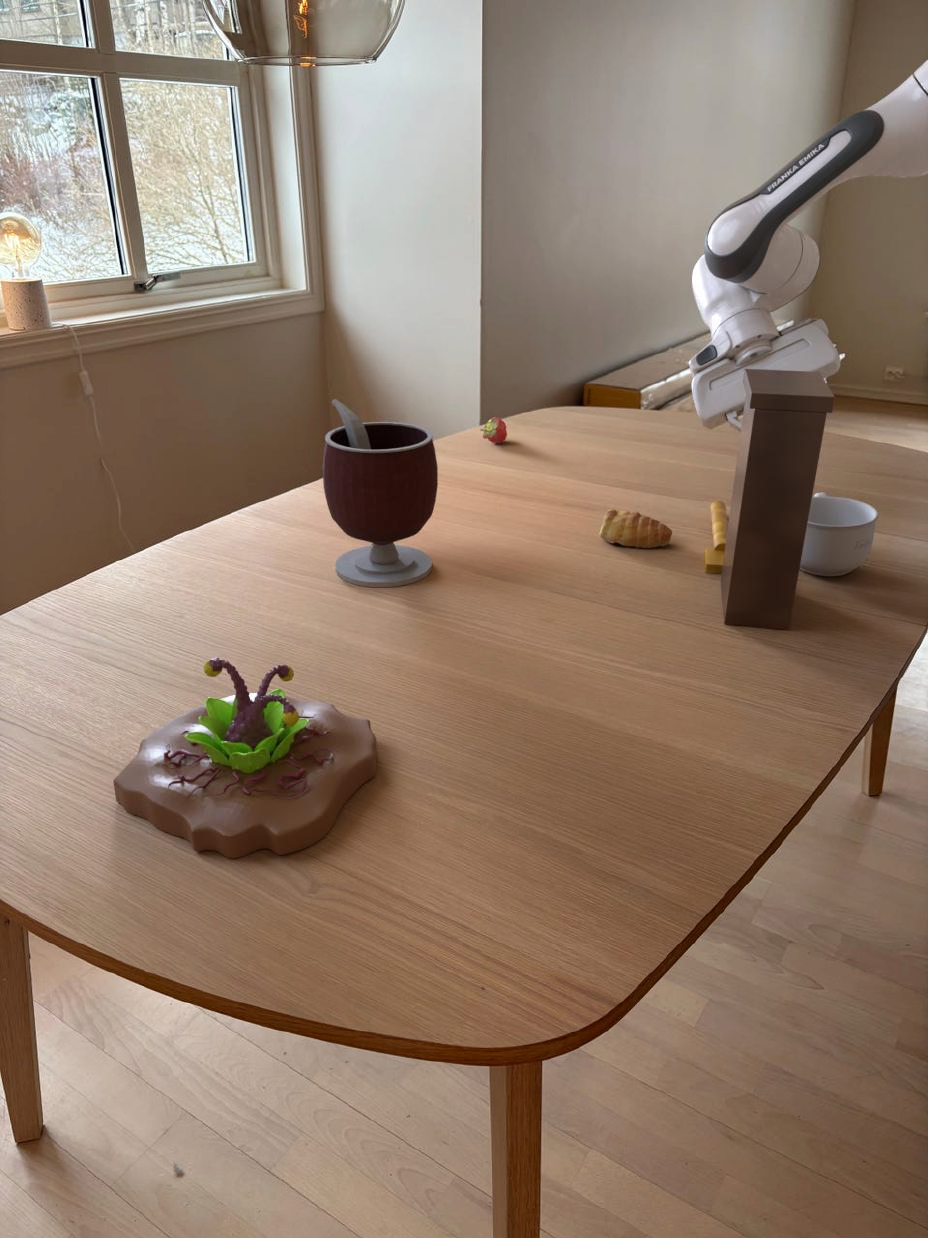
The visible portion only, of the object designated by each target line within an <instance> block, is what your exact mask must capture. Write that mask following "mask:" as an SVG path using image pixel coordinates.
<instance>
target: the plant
mask: <svg viewBox="0 0 928 1238" xmlns="http://www.w3.org/2000/svg"><path fill="white" fill-rule="evenodd" d="M223 669H225V670H226V672H227V674H228V675H229V676H230V680H231V681H232V683H233V688H234V690H235V694H233V695H232V694H231V695H229V696H226V697H223V698H217V697H211V696H208V697H207V698H206V699H205V701H204V703H203V704H201V705H198V706H196V707H193V708H191V709H189V710H187V711H185V712H184V713H181V714H179V715H177V716H176V717H174V718H173V719H171V720H169V721H168V722H167V723H165V724H164V725H163V726H161V727H160V728H157V729H156V730H154V731H153V732H152V733H150V734H149V735H148V736H146V737H145V738H144V739H142V740H141V742H140V744H139V748H138V752H137V754H136V755H135V756H134V758H132V759H131V760H130V761H129V762H128V763H127V765H126V766H125V767H124V768H123V769H122V770H121V771H120V772H119V773H118V775H116V777H115V778H114V779H113V787H114V789H113V790H114V795H115V802H117V803H118V804H119V805H121V807H122V808H123V809H124V810H125V811H126V812H127V813H129V814H131V815H134V816H137V817H140V818H142V819H145V820H147V821H148V822H150V824H152V825H153V826H154V827H155V828H156V829H158V830H160V831H161V832H165V833H168V834H171V835H172V836H175V837H179V838H184V839H185V840H187V841H189V842H190V844H191V845H192V848H193V850H194V851H195V852H203V851H214V852H218V853H220V854H221V855H223V856H224V857H226V858H227V859H238V858H241V857H244V856H247V855H249V854H251V853H253V852H256V851H258V850H263V849H268V850H270V851H272V852H273V853H275V854H277V855H278V856H284V855H289V854H292V853H295V852H299V851H301V850H304V849H306V848H308V847H310V846H312V845H314V844H316V843H318V842H319V841H321V840H322V839H323V838H324V837H325V836H326V835H327V834H328V832H330V830H331V829H332V827H333V825H334V824H335V822H336V821H337V817H338V816H339V814H340V812H341V810H342V808H343V807H344V805H345V804H346V803H347V802H348V800H349V799H350V798H351V797H352V796H353V795H354V794H355V793H356V792H357V790H358V789H359V788H360V787H361V786H363V785H364V784H365V783H366V782H368V781H369V780H371V779H372V778H374V777H375V775H376V774H377V759H378V747H377V738H376V737H377V736H376V735H375V733H374V732H373V730H372V727H371V721H370V720H369V719H368V718H358V717H352V716H349V715H346V714H345V713H343V712H341V711H340V710H338V709H337V707H335V706H334V704H331V703H328V702H324V701H314V700H305V699H300V698H294V697H291V696H286V695H285V694H286V693H285V691H284V690H283V689H282V688H277V689H274V690H272V691H270V692H268V690H269V688H270V684H271V683H272V680H273V679H274V678H275V676H276V675H277V676H278V678H279V679H280V680H281V681H282V682H287V683H288V682H291V681H292V680H293V678H294V677H295V671H294V669H293V668H292V667H291V666H289V665H287V664H277V665H276V666H274V667H272V669H269V672H266V674H265V676H264V677H263V678H262V679H261V684H259V686H258V687H259V688H258V691H257V692H249V691H248V686H247V685H246V684H245V683H246V681H245V679H243V678H242V676H241V675H240V674H239V671H238V670H237V668H236V667H235V665H232V664H231V663H230V662H229V661H228V660H225V659H223V658H221V657H212V658H209V659H208V660H206V662H204V664H203V672H204V674H206V676H208V677H209V678H214V677H215V678H217V676H219V675H220V674H221V673H222V671H223Z"/></svg>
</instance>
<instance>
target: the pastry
mask: <svg viewBox="0 0 928 1238" xmlns="http://www.w3.org/2000/svg"><path fill="white" fill-rule="evenodd" d="M602 520H603V521H602V523H601V527H600V531H599V533H598V535H599V537H600V538H601V539H602V540H604V541H605V542H606V543H607V544H608V543H611V544H613V545H614V543H617V544H620V545H621V546H624V547H635V548H637V549H638V548H642V549H644V548H645V549H652V548H656V547H666V545H668V544H669V543H670V542H671V539H672V535H673V530H672V529H671V528H670V527H669V526H668V525H666V524H664V523H662V522H660V520H657V519H654V518H651V517H650V516H647V515H643V514H640V512H638V511H633V512H631V511H629V510H627V509H623V510H620V511H617V510H616V509H613V508H612V509H611V508H609V509H608V510H607V511H606V512H605V514H604V517H603V519H602Z"/></svg>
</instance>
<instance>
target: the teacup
mask: <svg viewBox="0 0 928 1238" xmlns="http://www.w3.org/2000/svg"><path fill="white" fill-rule="evenodd" d="M878 518H879V512H878V510H877V509H876V508H874V506H873V505H870V504H868V503H866V502H863V501H860V500H859V499H858V500H857V499H853V498H849V497H848V498H847V497H841V496H832V495H831V496H829V494H828V493H826V492H816V493H815V494H814V495H813V496H812V501H811V506H810V512H809V518H808V523H807V529H806V535H805V541H804V546H803V552H802V558H801V563H800V569H799V570H801V571H803V572H805V573H807V574H810V575H814V576H819V577H820V576H821V577H840V576H843V575H847V574H849V573H851V572H852V571H854V570H856V569H857V568H859V567H861V566H862V565H863V564H864V563H865V562H866V561H867V560H868V558H869V556H870V553H871V550H872V546H873V542H874V536H875V532H876V525H877V524H876V523H877V520H878Z"/></svg>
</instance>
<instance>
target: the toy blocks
mask: <svg viewBox="0 0 928 1238" xmlns="http://www.w3.org/2000/svg"><path fill="white" fill-rule="evenodd" d="M709 510H710V511H709V512H710V521H711V533H712V535H711V536H712V545H713V549H705V550H704V557H703V558H704V572H705V573H706V574H707V573H708V574H719V575H721V573H722V566H723V559H724V551H725V544H726V537H727V529H728V522H729V519H728V513H727V506H726V504H725V502H724V501H722V500H715V501H712V503H711V504H710V507H709Z"/></svg>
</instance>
